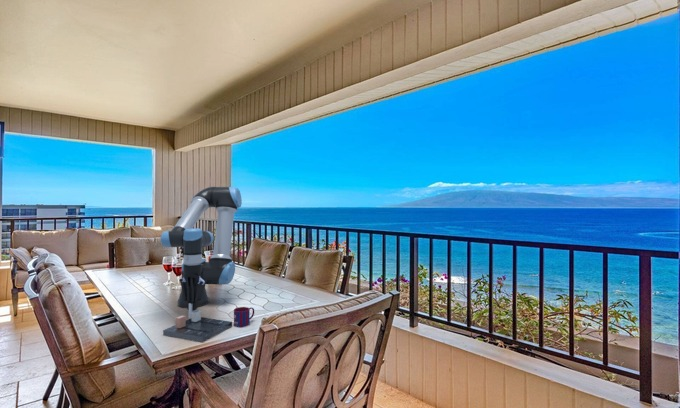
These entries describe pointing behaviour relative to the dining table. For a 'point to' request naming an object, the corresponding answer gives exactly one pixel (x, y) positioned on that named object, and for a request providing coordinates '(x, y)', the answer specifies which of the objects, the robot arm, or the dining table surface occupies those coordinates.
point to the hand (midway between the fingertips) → (192, 317)
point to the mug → (242, 316)
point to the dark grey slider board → (198, 329)
